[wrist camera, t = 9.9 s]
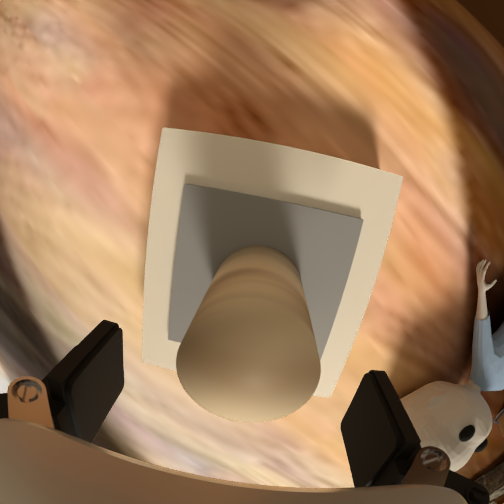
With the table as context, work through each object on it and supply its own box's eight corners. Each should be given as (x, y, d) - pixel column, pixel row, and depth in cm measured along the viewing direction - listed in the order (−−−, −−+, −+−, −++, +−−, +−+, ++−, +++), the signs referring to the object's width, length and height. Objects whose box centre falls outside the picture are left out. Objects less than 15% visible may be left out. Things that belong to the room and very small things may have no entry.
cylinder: (291, 331, 18) (299, 429, 11) (210, 317, 18) (174, 408, 11) (310, 254, 17) (339, 324, 9) (220, 238, 17) (179, 296, 9)
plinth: (323, 366, 24) (331, 401, 20) (159, 334, 24) (140, 366, 20) (380, 173, 20) (406, 176, 15) (181, 133, 20) (159, 126, 15)
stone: (466, 480, 37) (458, 518, 29) (459, 468, 37) (451, 510, 29) (523, 462, 28) (520, 502, 21) (520, 448, 28) (518, 492, 21)
